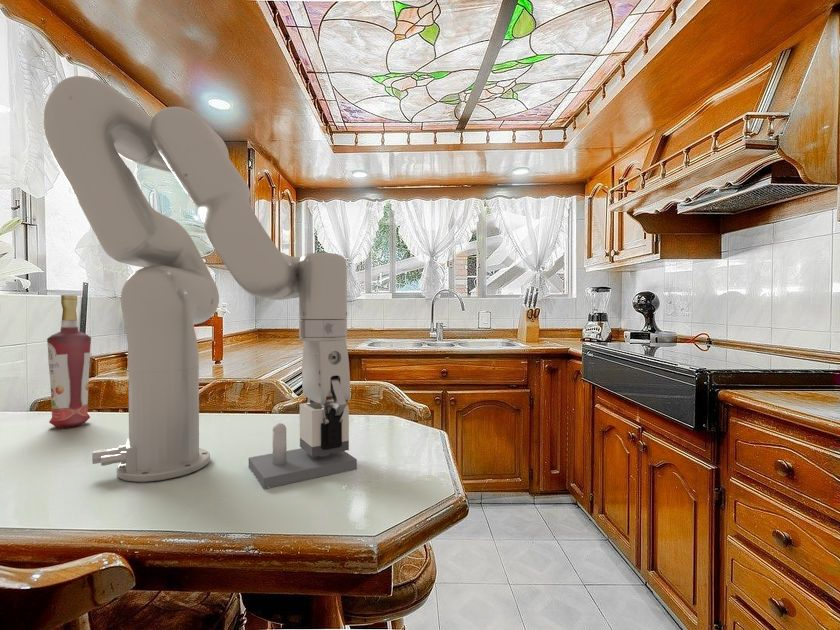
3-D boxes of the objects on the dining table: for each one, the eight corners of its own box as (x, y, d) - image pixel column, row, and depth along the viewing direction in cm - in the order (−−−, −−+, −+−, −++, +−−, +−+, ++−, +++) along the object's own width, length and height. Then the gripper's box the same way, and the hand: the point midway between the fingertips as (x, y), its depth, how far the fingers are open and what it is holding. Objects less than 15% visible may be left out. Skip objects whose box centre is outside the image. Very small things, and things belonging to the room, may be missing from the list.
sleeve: (348, 449, 69) (348, 406, 69) (312, 456, 65) (311, 410, 65) (334, 440, 74) (334, 399, 74) (299, 446, 71) (299, 403, 70)
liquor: (97, 424, 94) (96, 295, 94) (55, 432, 88) (54, 294, 88) (83, 419, 98) (82, 296, 98) (42, 427, 92) (40, 295, 91)
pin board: (263, 489, 60) (263, 434, 60) (248, 467, 68) (248, 419, 68) (356, 468, 67) (356, 420, 67) (332, 451, 76) (332, 408, 76)
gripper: (368, 332, 64) (368, 453, 64) (326, 328, 79) (326, 427, 79) (319, 333, 60) (320, 462, 60) (284, 329, 75) (285, 433, 75)
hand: (323, 441), depth 70 cm, fingers closed on sleeve, 5 cm apart
